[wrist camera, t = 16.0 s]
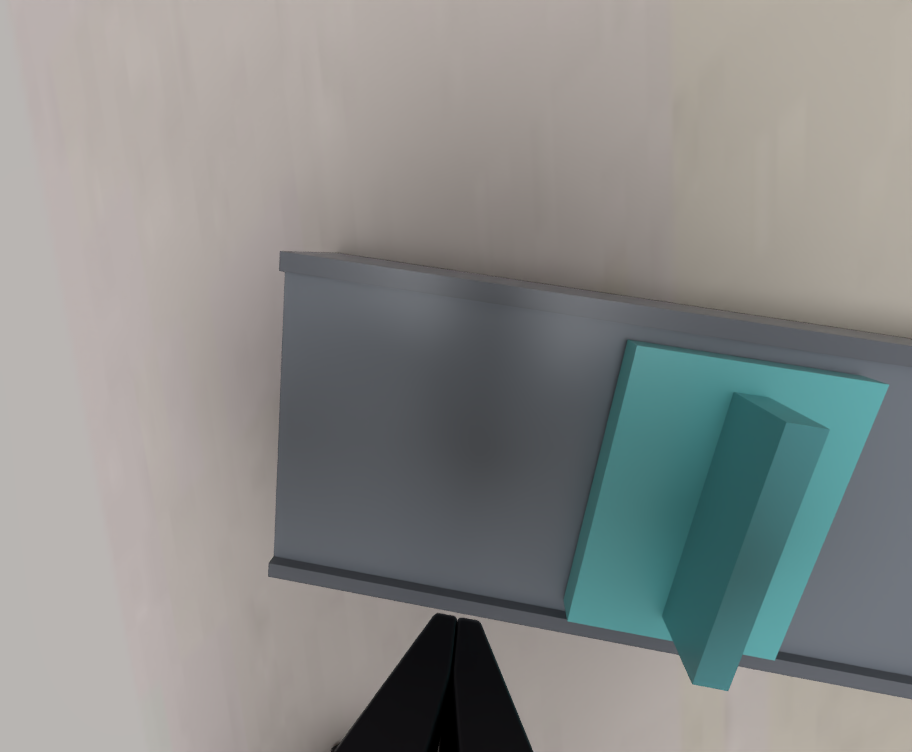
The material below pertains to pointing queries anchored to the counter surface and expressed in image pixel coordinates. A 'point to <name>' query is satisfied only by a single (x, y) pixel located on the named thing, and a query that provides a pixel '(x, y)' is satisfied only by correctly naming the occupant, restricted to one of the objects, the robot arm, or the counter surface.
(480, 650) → the robot arm
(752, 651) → the lid
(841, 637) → the housing
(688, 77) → the counter surface
